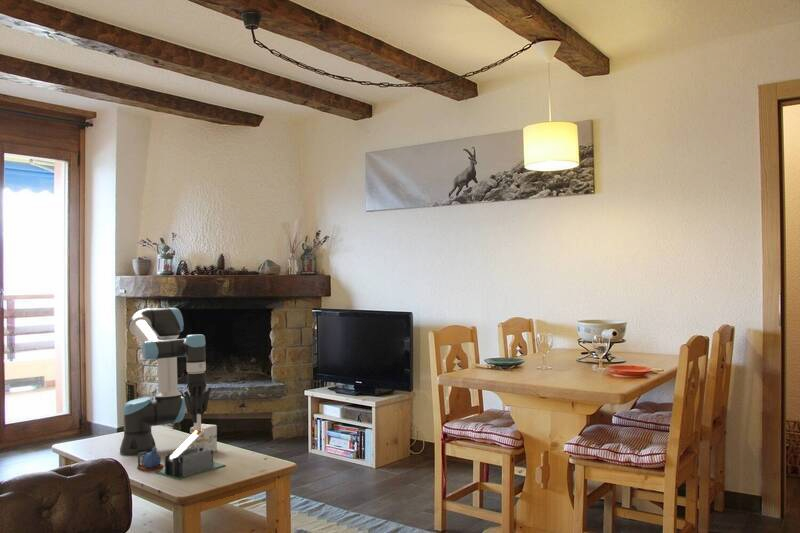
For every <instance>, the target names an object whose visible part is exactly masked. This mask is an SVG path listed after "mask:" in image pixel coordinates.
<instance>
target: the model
mask: <svg viewBox="0 0 800 533" xmlns="http://www.w3.org/2000/svg"><path fill="white" fill-rule="evenodd" d="M157 449H158V448H157V447H154V448H153V449H152V452H148V453H147V452H146V451H145V452H141V453H138V455H137V466H136V468H137V469H138V471H140V472H144V471H145V472H150V473H151V472H156V471H159V470H163V469H165V465H164V464H161V456H160V455H159V452H157V451H158V450H157ZM141 455H142V458H141ZM137 469H136V470H137Z"/></svg>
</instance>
